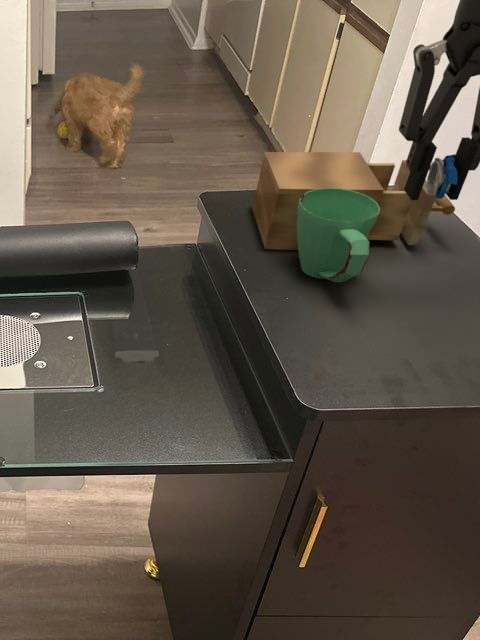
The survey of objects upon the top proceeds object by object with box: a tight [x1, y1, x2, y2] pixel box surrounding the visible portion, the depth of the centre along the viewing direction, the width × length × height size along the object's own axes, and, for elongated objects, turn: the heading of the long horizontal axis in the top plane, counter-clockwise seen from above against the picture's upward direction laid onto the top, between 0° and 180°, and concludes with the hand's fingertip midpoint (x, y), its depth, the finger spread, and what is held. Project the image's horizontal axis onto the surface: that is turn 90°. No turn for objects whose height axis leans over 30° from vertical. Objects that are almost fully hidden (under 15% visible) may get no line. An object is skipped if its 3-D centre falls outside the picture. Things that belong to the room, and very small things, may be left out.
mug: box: [297, 188, 380, 283], centre depth 97 cm, size 15×10×10 cm
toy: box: [425, 153, 458, 199], centre depth 86 cm, size 5×4×5 cm
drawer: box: [366, 159, 456, 246], centre depth 106 cm, size 17×11×8 cm
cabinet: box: [251, 151, 384, 251], centre depth 107 cm, size 14×13×10 cm
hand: (430, 194), depth 88 cm, fingers closed on toy, 4 cm apart
